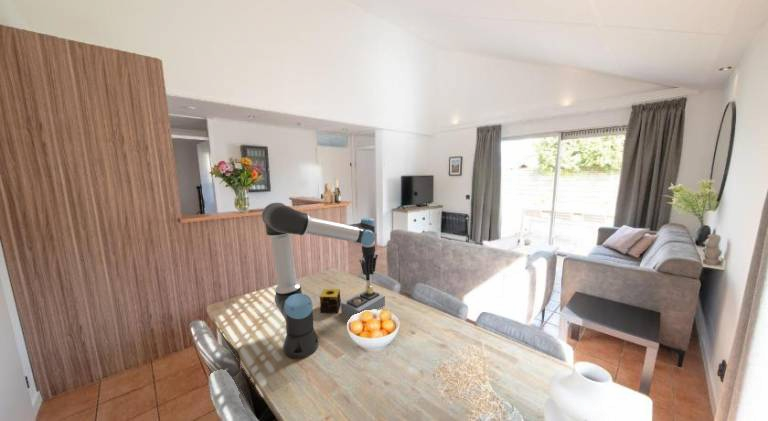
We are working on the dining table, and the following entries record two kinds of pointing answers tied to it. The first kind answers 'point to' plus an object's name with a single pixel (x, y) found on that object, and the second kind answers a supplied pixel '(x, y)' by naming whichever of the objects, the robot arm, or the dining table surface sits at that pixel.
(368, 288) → the brass peg
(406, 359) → the dining table surface
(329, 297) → the candle
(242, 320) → the dining table surface
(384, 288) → the dining table surface
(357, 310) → the socket block
